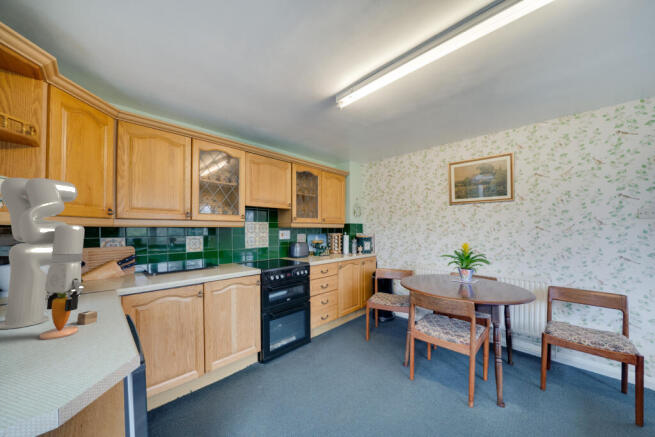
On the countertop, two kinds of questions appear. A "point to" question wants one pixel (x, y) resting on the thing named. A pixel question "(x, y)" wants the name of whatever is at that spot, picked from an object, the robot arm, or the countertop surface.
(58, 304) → the carrot
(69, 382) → the countertop surface
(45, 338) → the peach glossy dome
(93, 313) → the letter cube
